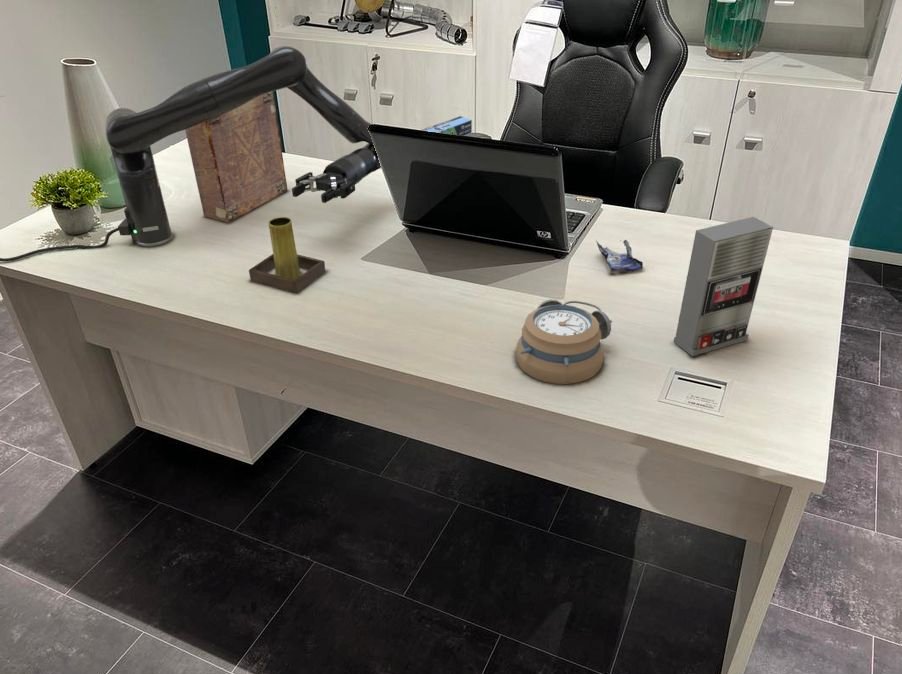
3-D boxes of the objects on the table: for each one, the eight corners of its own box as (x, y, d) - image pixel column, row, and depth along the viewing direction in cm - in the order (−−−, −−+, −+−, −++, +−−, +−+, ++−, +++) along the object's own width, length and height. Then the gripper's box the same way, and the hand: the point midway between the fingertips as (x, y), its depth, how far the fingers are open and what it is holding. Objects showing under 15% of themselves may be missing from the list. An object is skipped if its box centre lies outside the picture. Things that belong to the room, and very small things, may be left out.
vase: (306, 273, 184) (298, 218, 176) (292, 284, 179) (283, 228, 171) (285, 268, 186) (276, 214, 178) (270, 279, 182) (261, 224, 173)
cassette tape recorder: (692, 358, 151) (717, 243, 137) (673, 342, 156) (694, 230, 141) (747, 341, 156) (777, 228, 141) (727, 327, 160) (753, 216, 146)
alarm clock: (503, 330, 144) (549, 277, 160) (501, 370, 150) (546, 315, 166) (589, 353, 137) (628, 295, 153) (584, 394, 143) (623, 334, 159)
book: (264, 185, 229) (247, 82, 212) (288, 191, 226) (273, 86, 208) (203, 217, 212) (180, 107, 194) (228, 223, 208) (206, 112, 190)
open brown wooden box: (250, 281, 181) (248, 270, 180) (280, 260, 190) (278, 249, 188) (297, 293, 176) (295, 282, 174) (325, 271, 184) (324, 260, 182)
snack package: (641, 254, 188) (593, 249, 190) (646, 232, 184) (597, 228, 185) (640, 284, 180) (590, 279, 182) (645, 262, 175) (594, 257, 177)
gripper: (320, 154, 193) (281, 176, 182) (368, 162, 188) (331, 185, 176) (324, 182, 198) (286, 206, 186) (370, 191, 192) (334, 216, 181)
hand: (307, 196), depth 181 cm, fingers open, 8 cm apart
